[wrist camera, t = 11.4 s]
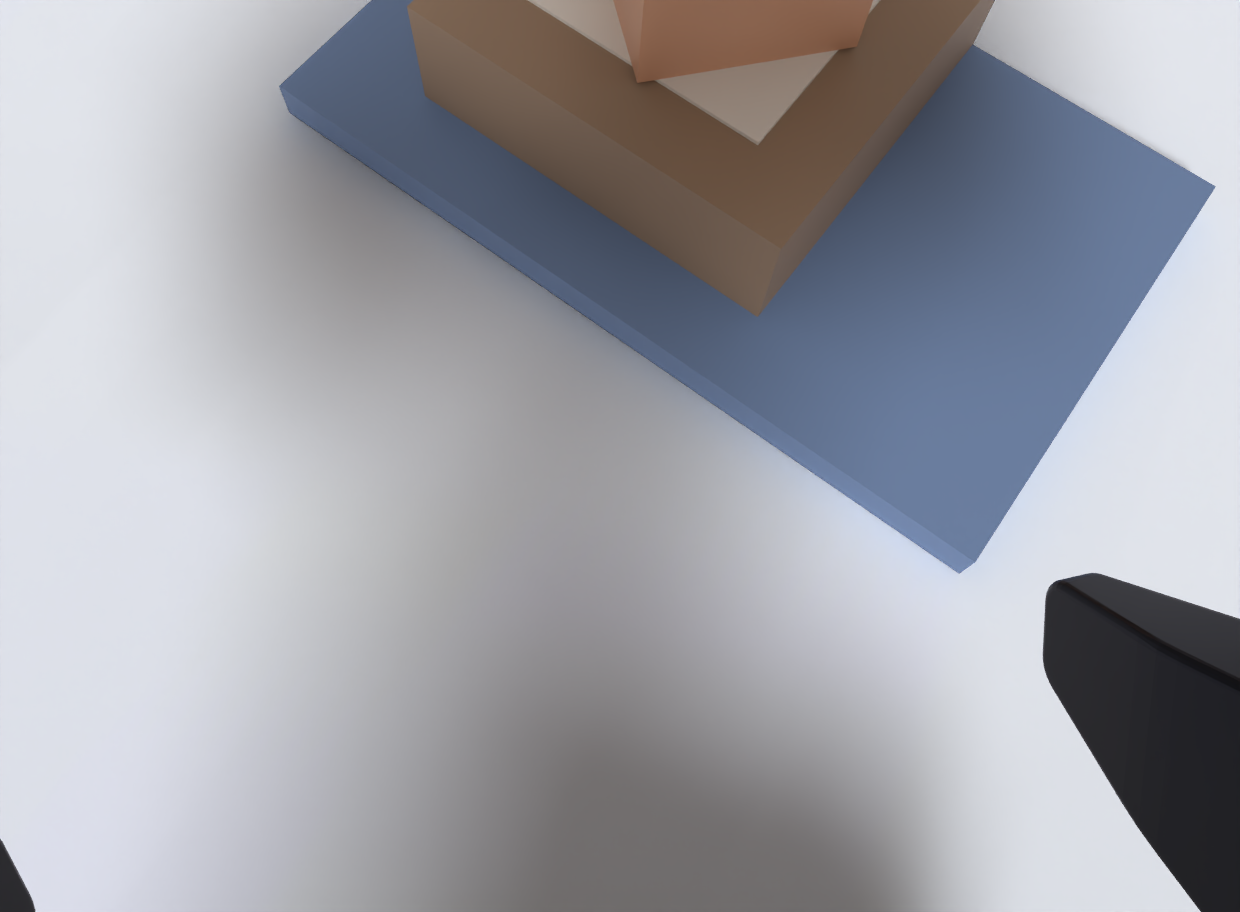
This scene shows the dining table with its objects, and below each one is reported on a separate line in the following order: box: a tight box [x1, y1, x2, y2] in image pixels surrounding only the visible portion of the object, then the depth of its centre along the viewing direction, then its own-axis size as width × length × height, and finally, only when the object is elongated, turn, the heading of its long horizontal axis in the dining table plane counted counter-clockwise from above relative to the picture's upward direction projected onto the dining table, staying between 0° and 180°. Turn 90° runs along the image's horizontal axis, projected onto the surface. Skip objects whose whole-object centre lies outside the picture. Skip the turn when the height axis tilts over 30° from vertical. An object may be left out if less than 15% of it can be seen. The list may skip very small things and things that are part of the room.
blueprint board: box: [279, 0, 1215, 573], centre depth 25 cm, size 20×12×4 cm, turn 53°
